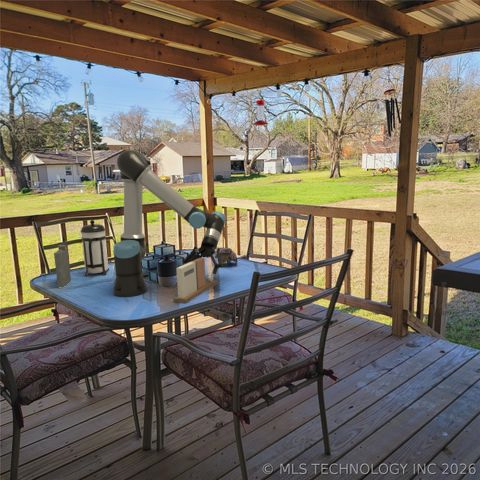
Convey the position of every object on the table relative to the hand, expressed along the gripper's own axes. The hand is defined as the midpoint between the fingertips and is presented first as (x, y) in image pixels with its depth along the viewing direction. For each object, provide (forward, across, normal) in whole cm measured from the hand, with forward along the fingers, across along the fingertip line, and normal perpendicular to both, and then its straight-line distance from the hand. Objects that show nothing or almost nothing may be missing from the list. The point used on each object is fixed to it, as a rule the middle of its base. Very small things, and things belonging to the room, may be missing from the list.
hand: (197, 278), depth 178 cm
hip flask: (+10, +72, +1) cm, 73 cm away
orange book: (+2, 0, -4) cm, 4 cm away
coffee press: (-4, +70, -13) cm, 71 cm away
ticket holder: (+5, 0, -4) cm, 6 cm away
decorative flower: (-31, +8, -40) cm, 51 cm away
